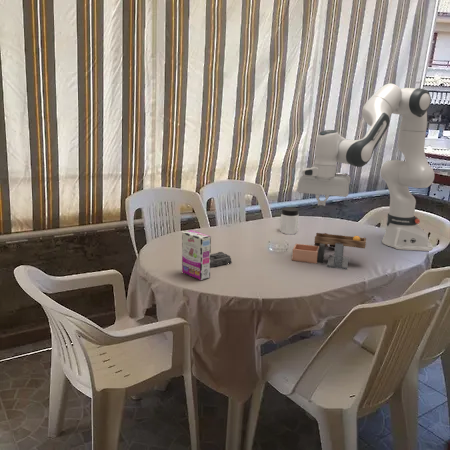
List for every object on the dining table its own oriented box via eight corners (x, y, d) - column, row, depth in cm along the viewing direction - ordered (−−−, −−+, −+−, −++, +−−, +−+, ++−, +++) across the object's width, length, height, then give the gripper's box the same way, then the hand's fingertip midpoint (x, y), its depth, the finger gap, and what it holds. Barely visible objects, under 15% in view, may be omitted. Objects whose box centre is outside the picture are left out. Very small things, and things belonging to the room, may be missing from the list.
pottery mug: (339, 253, 205) (333, 239, 202) (319, 261, 208) (312, 246, 204) (335, 239, 216) (329, 225, 212) (316, 246, 218) (310, 232, 215)
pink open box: (318, 257, 198) (319, 246, 197) (316, 263, 191) (317, 252, 189) (295, 254, 201) (295, 243, 200) (292, 260, 193) (292, 249, 192)
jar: (284, 228, 240) (285, 206, 237) (299, 231, 237) (300, 208, 234) (278, 233, 233) (279, 209, 229) (293, 235, 229) (295, 212, 226)
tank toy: (208, 270, 182) (208, 257, 180) (197, 262, 189) (197, 250, 188) (234, 265, 188) (234, 253, 186) (222, 258, 195) (222, 246, 194)
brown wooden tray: (365, 243, 191) (366, 237, 190) (365, 249, 183) (365, 243, 182) (316, 238, 197) (316, 232, 196) (314, 244, 189) (314, 237, 188)
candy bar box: (211, 278, 173) (211, 235, 168) (200, 281, 169) (201, 238, 165) (191, 269, 180) (191, 229, 176) (181, 272, 177) (181, 231, 172)
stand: (348, 259, 197) (351, 236, 194) (347, 269, 185) (349, 245, 182) (320, 255, 200) (322, 233, 198) (316, 265, 188) (318, 242, 186)
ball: (359, 233, 188) (351, 236, 189) (358, 235, 185) (351, 238, 186) (361, 240, 188) (354, 242, 190) (361, 242, 186) (354, 244, 187)
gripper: (351, 172, 185) (348, 206, 188) (300, 168, 190) (297, 201, 194) (351, 174, 179) (347, 209, 183) (298, 170, 185) (295, 204, 188)
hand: (321, 205), depth 188 cm, fingers closed
